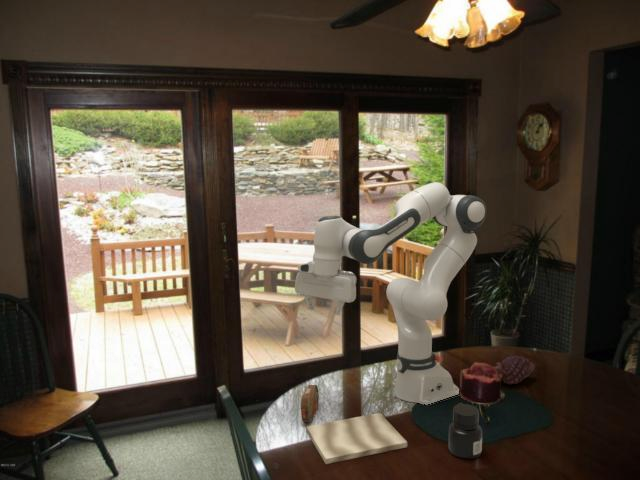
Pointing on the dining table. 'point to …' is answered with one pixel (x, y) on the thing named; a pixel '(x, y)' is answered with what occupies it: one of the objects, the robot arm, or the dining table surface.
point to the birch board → (355, 437)
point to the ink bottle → (465, 432)
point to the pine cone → (514, 369)
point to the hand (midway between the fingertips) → (323, 312)
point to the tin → (309, 403)
